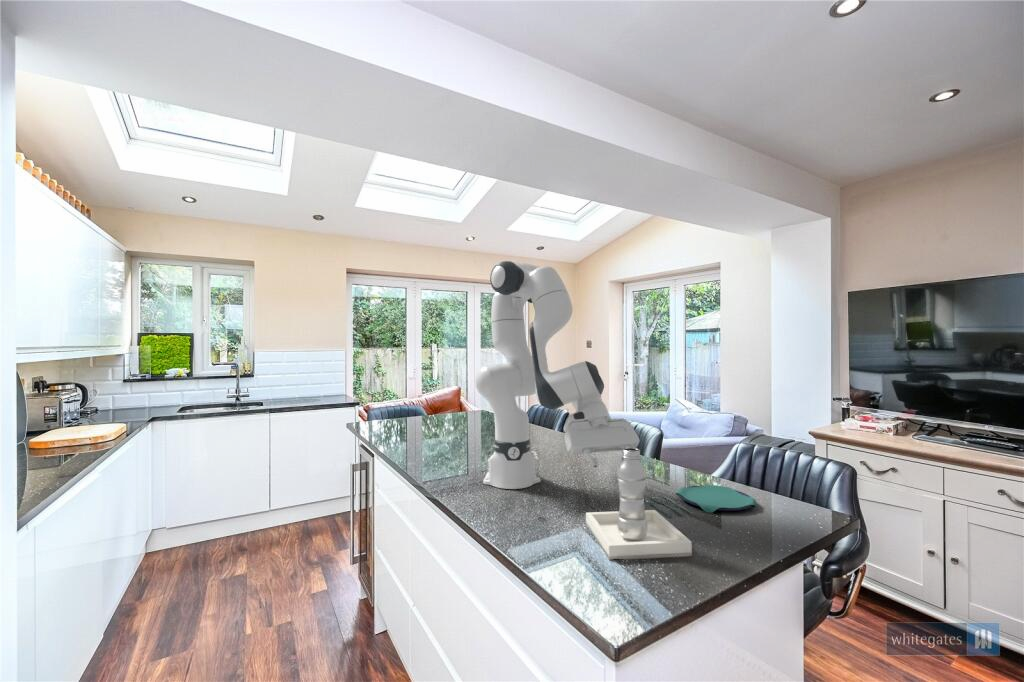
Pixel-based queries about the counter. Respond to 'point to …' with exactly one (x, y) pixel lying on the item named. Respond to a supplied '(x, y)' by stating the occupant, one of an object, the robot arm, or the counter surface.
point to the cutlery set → (710, 499)
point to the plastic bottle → (631, 496)
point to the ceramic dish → (655, 544)
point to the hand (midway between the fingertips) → (611, 464)
